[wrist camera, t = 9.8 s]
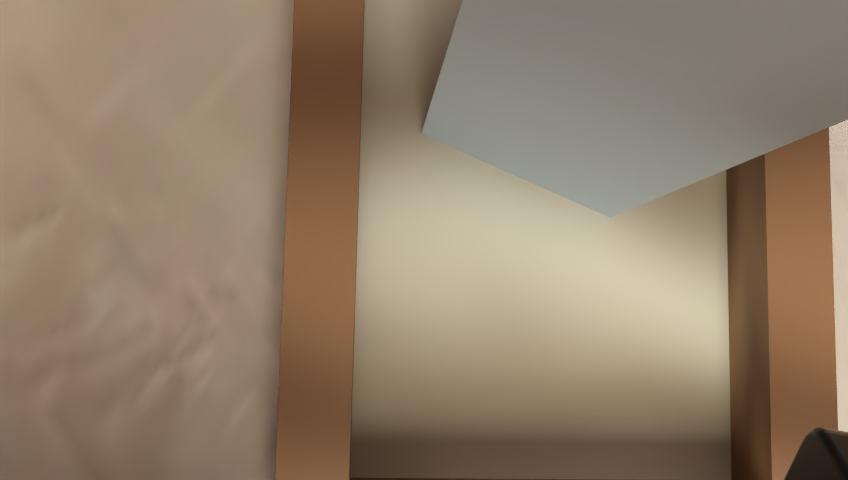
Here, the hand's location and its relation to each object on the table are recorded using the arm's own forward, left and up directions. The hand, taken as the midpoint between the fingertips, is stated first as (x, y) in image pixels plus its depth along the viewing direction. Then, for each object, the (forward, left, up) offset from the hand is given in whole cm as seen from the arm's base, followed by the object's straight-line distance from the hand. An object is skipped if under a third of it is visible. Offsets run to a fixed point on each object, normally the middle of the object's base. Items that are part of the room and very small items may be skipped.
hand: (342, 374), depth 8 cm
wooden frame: (+5, -4, -11) cm, 13 cm away
